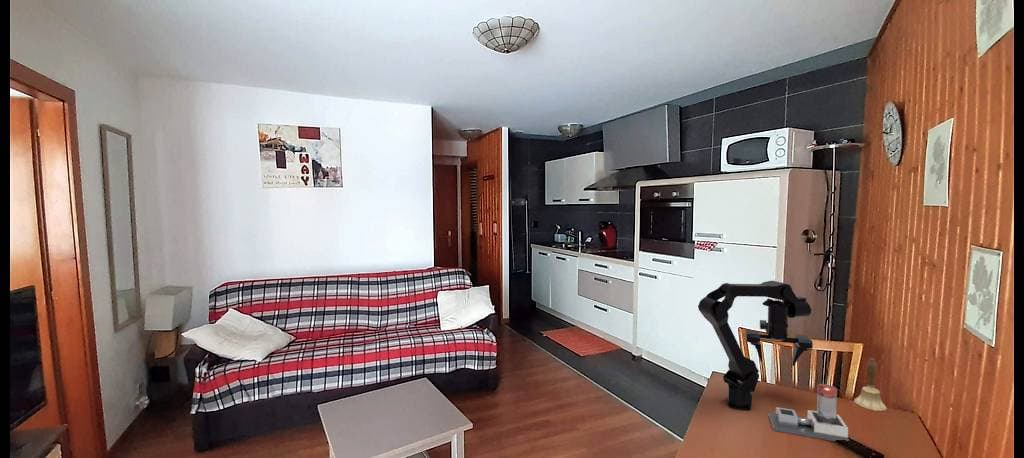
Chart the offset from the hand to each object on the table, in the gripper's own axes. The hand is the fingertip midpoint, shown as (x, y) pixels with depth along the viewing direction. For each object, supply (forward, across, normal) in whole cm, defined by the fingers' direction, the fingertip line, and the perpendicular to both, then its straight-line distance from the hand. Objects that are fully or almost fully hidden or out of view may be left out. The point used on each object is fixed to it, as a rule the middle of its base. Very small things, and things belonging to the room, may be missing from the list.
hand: (776, 363), depth 139 cm
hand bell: (+13, -28, -8) cm, 32 cm away
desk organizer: (+13, -5, +17) cm, 22 cm away
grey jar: (+12, -10, +17) cm, 23 cm away
